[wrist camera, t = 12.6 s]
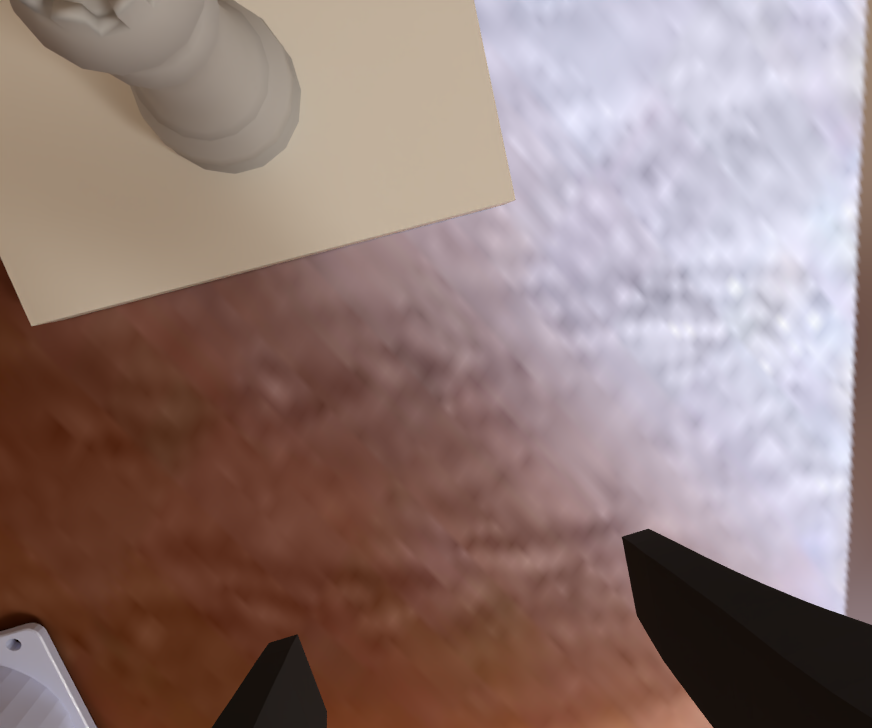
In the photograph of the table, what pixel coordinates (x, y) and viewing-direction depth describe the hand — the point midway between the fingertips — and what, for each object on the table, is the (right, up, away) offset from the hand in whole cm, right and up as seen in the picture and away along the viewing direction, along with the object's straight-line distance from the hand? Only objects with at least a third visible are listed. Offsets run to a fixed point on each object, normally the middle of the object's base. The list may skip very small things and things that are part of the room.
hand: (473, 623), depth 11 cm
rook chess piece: (-7, +14, +5) cm, 16 cm away
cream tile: (-7, +14, +6) cm, 17 cm away
